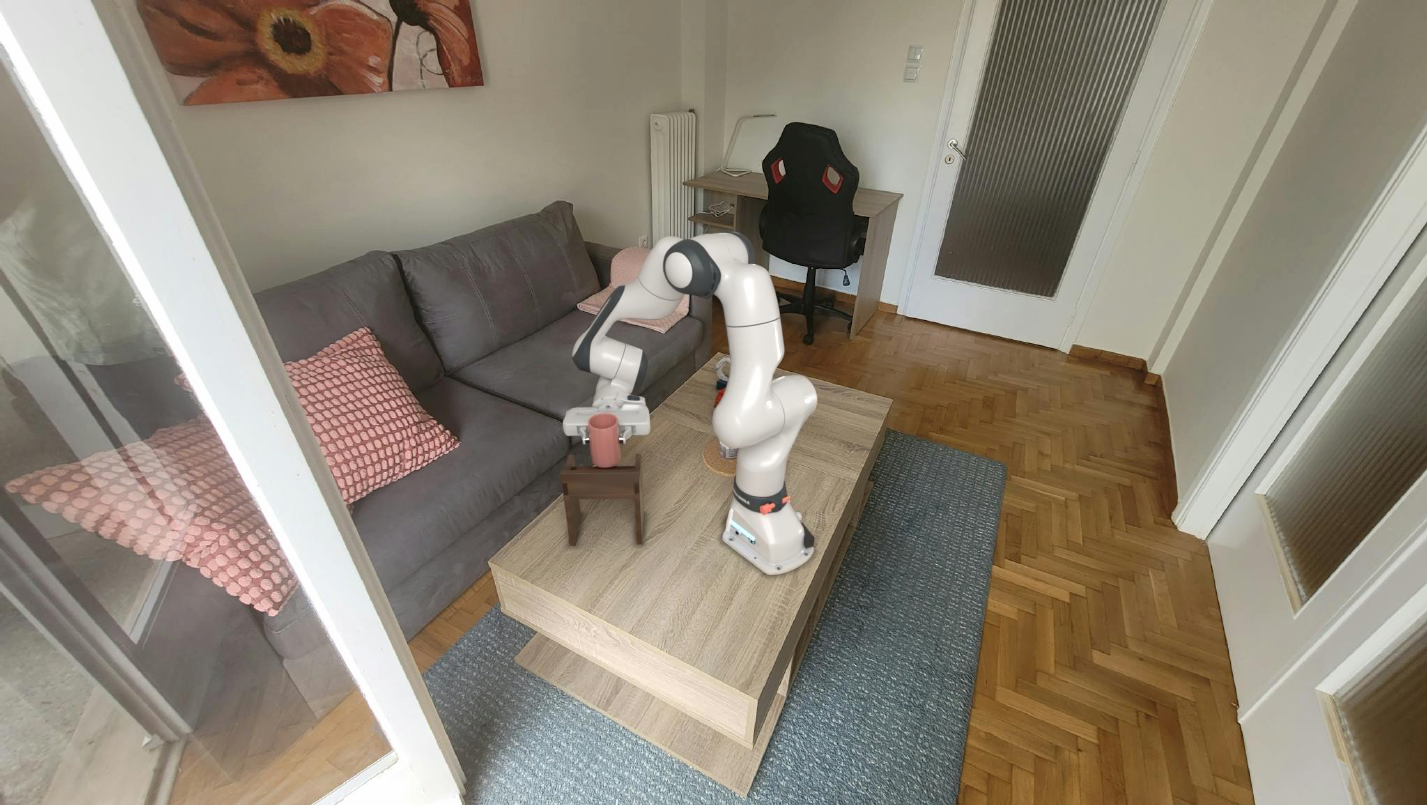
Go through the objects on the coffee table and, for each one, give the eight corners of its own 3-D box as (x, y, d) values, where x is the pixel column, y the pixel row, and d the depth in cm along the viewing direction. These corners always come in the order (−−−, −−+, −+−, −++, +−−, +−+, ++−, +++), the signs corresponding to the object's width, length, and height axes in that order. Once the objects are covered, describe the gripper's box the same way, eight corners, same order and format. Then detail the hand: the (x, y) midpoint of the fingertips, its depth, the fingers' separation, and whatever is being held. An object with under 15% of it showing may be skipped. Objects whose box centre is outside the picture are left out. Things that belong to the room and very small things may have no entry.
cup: (625, 461, 134) (623, 424, 129) (598, 471, 131) (595, 432, 126) (613, 447, 139) (610, 410, 133) (587, 455, 136) (583, 418, 130)
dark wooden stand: (576, 515, 143) (567, 445, 131) (644, 514, 144) (640, 444, 132) (570, 545, 134) (560, 473, 123) (642, 544, 135) (638, 472, 124)
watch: (720, 380, 200) (721, 352, 195) (740, 388, 197) (742, 359, 191) (711, 387, 196) (712, 358, 191) (731, 395, 193) (733, 365, 187)
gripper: (565, 397, 141) (555, 430, 129) (651, 397, 142) (648, 429, 130) (568, 419, 144) (559, 453, 132) (651, 418, 145) (649, 452, 134)
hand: (604, 441), depth 131 cm, fingers closed on cup, 7 cm apart
